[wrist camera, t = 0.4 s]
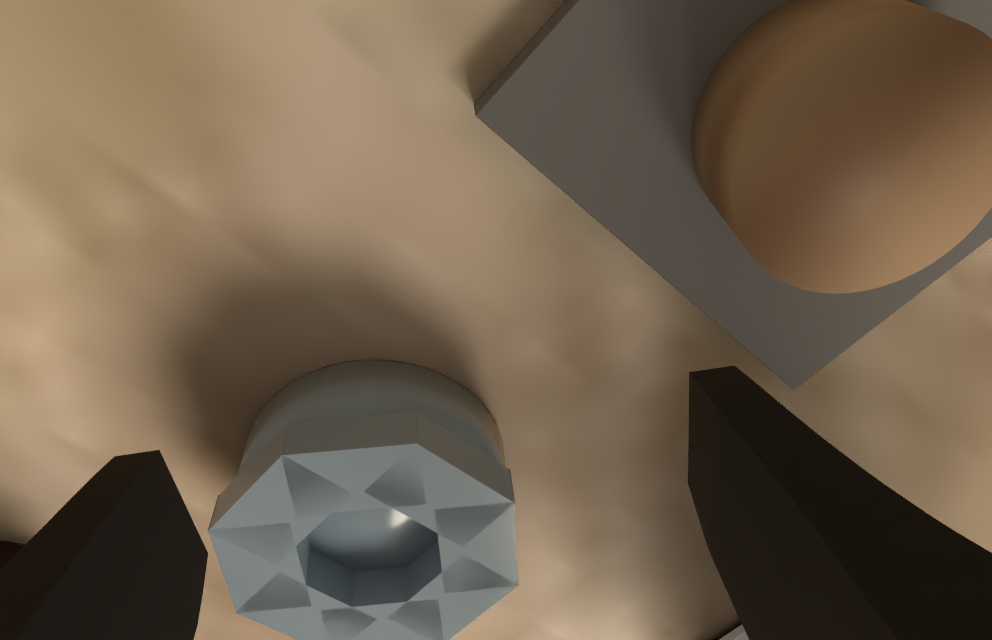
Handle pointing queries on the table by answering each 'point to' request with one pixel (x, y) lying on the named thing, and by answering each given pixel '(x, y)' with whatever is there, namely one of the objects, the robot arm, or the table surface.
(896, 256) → the lid
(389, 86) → the table surface
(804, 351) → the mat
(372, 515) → the dish
